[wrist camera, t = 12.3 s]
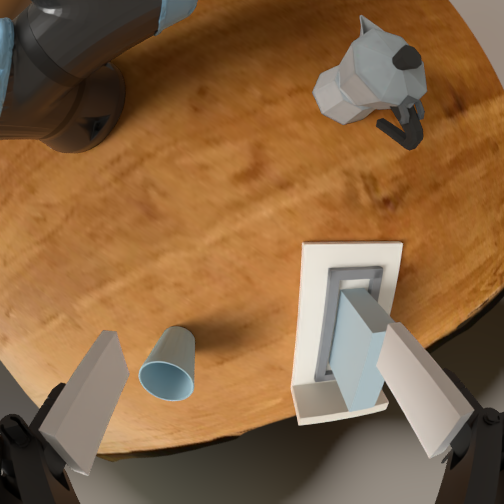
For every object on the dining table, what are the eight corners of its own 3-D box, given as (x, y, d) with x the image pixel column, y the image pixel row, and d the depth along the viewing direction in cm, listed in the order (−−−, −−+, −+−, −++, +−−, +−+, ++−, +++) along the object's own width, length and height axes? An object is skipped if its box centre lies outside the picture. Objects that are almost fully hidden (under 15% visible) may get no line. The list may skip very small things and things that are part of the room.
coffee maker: (295, 64, 31) (336, -2, 14) (349, 52, 30) (412, -2, 13) (338, 161, 35) (412, 161, 18) (388, 143, 35) (474, 139, 17)
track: (302, 242, 38) (320, 264, 30) (399, 241, 39) (432, 260, 30) (290, 388, 47) (298, 425, 38) (368, 378, 47) (385, 409, 39)
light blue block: (340, 289, 40) (372, 333, 28) (363, 287, 40) (401, 328, 28) (328, 362, 44) (349, 412, 32) (349, 359, 44) (373, 406, 33)
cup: (198, 319, 42) (188, 362, 32) (205, 357, 44) (198, 402, 34) (152, 319, 41) (132, 359, 31) (162, 356, 44) (147, 399, 34)
